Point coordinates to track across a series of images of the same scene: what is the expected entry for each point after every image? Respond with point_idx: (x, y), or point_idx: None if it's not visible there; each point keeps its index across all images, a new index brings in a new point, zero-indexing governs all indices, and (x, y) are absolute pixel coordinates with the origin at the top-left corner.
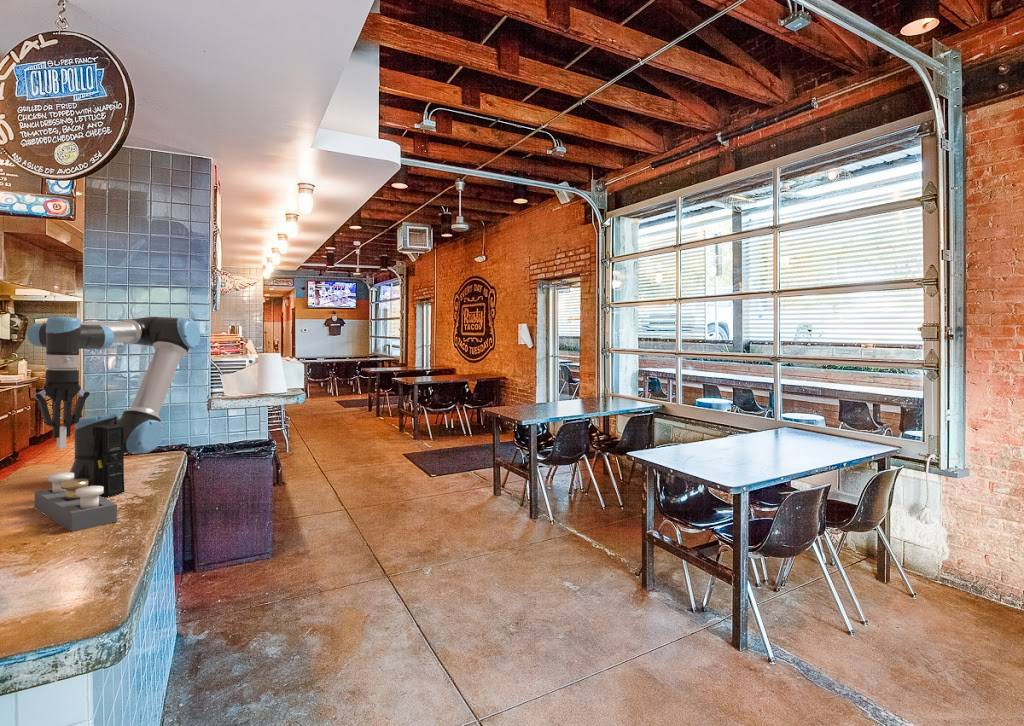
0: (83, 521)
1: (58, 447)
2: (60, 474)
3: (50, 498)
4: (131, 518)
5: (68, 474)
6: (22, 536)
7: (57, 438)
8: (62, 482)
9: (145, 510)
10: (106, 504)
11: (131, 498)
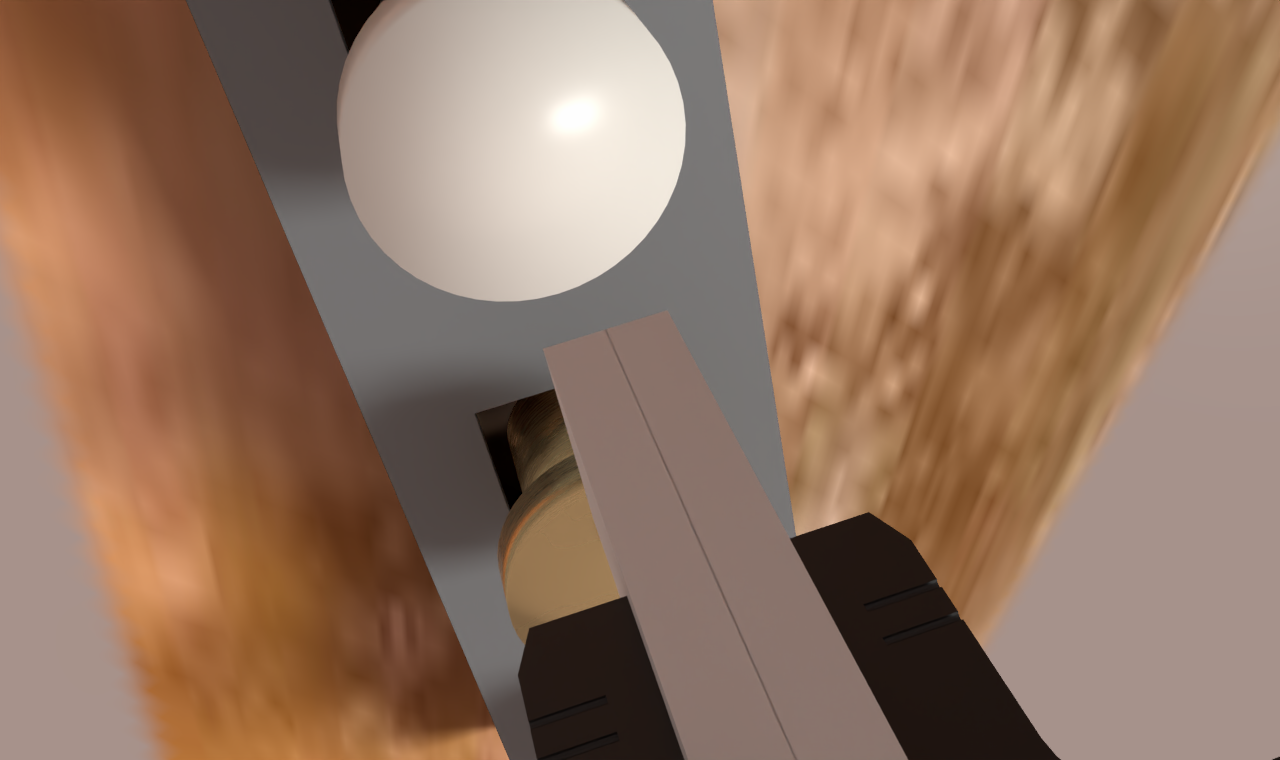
0: None
1: (579, 466)
2: (510, 117)
3: (382, 394)
4: None
5: (609, 178)
6: (231, 711)
7: (614, 559)
8: (520, 584)
9: (1003, 455)
10: None
11: (1074, 9)
